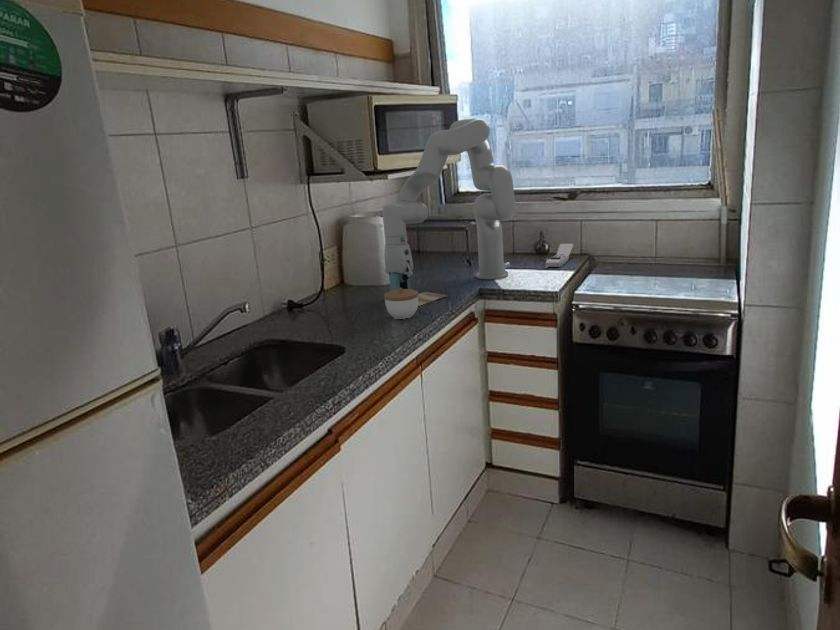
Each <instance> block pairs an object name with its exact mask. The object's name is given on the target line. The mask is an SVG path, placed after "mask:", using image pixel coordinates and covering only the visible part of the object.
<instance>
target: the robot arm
mask: <svg viewBox="0 0 840 630" xmlns="http://www.w3.org/2000/svg"><path fill="white" fill-rule="evenodd" d="M490 129H491V128H490V125H489V124H488V122H487V121H486V120H485V119H483V118H480V117H478V118H476V117H475V118H469V119H468V118H465V119H460V120H456V121H454V122H452V123H451V124H450V127H449V129H444V130H443V129H441V130H437V131H434V132H432V133H431V134H430V136H429V138H428V140H427V142H426V145H425V148H424V149H423V150H424V151H423V152H422V155H421V158H420V160H419V162H418V164H417V167H416V169H415V171H414V172H413V173H411V175H410V177H409V178H407V180H406V181H405V183H404V184H403V185H402V187H401V189H400V191H399V193H398V195H397V198H396V201H395V203H391V204H390V203H389V204H385V205H383V207H382V221H383V230H384V231H383V232H384V243H385V244H384V268H385V273H386V274H387V275H389V274H391V273H399V274H400V281H401V282H400V288H402V289H408V285H407V281H408V279H409V277H411V276H413V275H414V272H413V271H414V262H413V256H412V250H411V247H410V244H409V243H408V240H409V239H408V236H407V228H406V225H407V224H421V223H423V222H424V221H426V219H427V218H428V216H429V210H428V209H429V208H428V206H427V205H426V204H425V203H424V202H422V201H417V199H418V198H419V196H420V195H421V194H422V192H423V191H424V190H426V189H427V188H428V187H431V186H432V185H433V184H435V183H436V182H437V181H439V179H440V177H441V176H442V175H441V174H442V172H443V169H444V167H445V166H446V165H445V164H446V162H447V160H448V157H449V156H457V155H460V154H462V153H465V152H466V153H467V155H468V160H469V164H470V166H469V167H470V170H471V177H472V183H473V186H474V187H475V188H476V189H477V190H478V191H484V192H485V191H486V192H491V193H482V194H480V195H479V196H477V197H476V198H475V200H474V202H473V206H472V207H473V215H474V218H475V223H476V231H477V233H476V234H477V235H476V236H477V238H476V239H477V252H478V253H477V254H478V255H477V257H478V268H479V269H478V272H476V273H475V278H477V279H479V280H499V279H503V278H507V277H508V276H509V272H508V271H507V270H506V269H507V268H509V267H511V262H509V261H508V262H504V240H503V235H504V234H503V227H502V224H501V222H506V221H509V220H511V219H512V218H513V216H514V214H515V213H516V205H517V204H516V198H515V197H516V196H515V188H514V181H513V176H512V174H511V171H510V170H509V168H508V167H507V166H506V165H504V164H495V162H494V156H493V153H492V148H491V147H492V146H491V144H490V143H489V141H488V140H487V139H488V138H489V135H490V133H491V132H490V131H491V130H490ZM403 275H404V277H403Z"/></svg>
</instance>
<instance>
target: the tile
mask: <svg viewBox="0 0 840 630" xmlns="http://www.w3.org/2000/svg"><path fill="white" fill-rule="evenodd" d="M403 277H404V275H403ZM410 277H411V276H410ZM410 277H409V279H408V281H407V285H408V289H412V288H411V286H412V285H411V278H410ZM388 278H389V291H393V290H399V288H400V282H401V281H400V274H399V273H391V274H388Z"/></svg>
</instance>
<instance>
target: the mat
mask: <svg viewBox="0 0 840 630" xmlns="http://www.w3.org/2000/svg"><path fill="white" fill-rule="evenodd" d="M445 296H448V294H442V293H441V294H440V293H435V292H428V291H424V292H423V291H422V292H421V293H418V306H421V305H423V304H426V303H428V302H431V301H434V300H436V299H439V298H442V297H445ZM426 305H427V304H426ZM423 306H424V305H423ZM421 307H422V306H421Z"/></svg>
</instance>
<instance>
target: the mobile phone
mask: <svg viewBox="0 0 840 630" xmlns="http://www.w3.org/2000/svg"><path fill="white" fill-rule="evenodd" d="M573 248H574V243H559V245H558V249H557V252H556V254H555V255H554V256H551V257H549V258H548V259H547V260H546V262H545V266H544V269H548V268H550V267H551V268H554V267H555V268H556V267H557V268H560V267H563V265H565V264H566V262H568V261H569V259H570V255H571V252H572V249H573Z"/></svg>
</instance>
